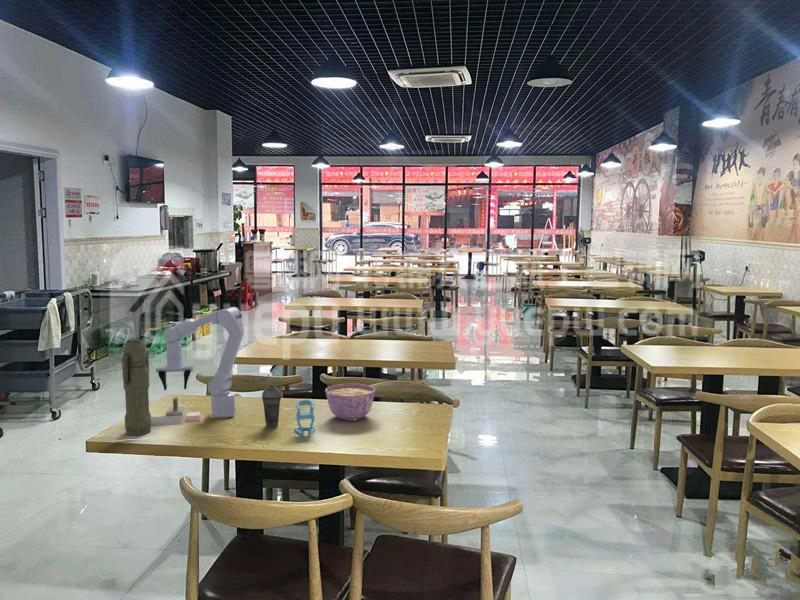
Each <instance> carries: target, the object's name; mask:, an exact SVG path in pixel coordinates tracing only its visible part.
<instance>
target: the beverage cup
mask: <svg viewBox="0 0 800 600" xmlns="http://www.w3.org/2000/svg"><path fill="white" fill-rule="evenodd" d="M267 381H268V385H267V387H266V388H265V389H264V390H263V391H262V395H261V399H262V403H263V410H264V411H263V412H264V420H265V422H264V423H265V427H266V428H269V429H273V428H276V427H278V426H279V418H280V405H281V404H280V403H281V399H282V398H281V397H282V395H281V390H280V389H279V388H278V387H277V386H275V385H271V382H270V374H267Z"/></svg>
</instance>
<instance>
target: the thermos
mask: <svg viewBox="0 0 800 600" xmlns="http://www.w3.org/2000/svg"><path fill="white" fill-rule="evenodd" d="M149 361H150V360H149V352H148V351H147V345H146V343H145V341H144V339H141V338H132V339H131V338H130V339H127V340H126V341H125V343H124V346H123V355H122V359H121V365H122V367H121V368H122V380H123V381H122V382H123V383H122V384H123V389H124V392H125V393H124V396H125V415H124V428H125V429H124V430H125V435H126V436H129V437H140V436H145V435H148V434H150V433H151V432H152V430H151V427H152V426H151V417H152V415H151V412H150V404H149V403H150V400H149V397H150V396H149V388H150V366H149V365H150V362H149Z"/></svg>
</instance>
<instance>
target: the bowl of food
mask: <svg viewBox="0 0 800 600" xmlns="http://www.w3.org/2000/svg"><path fill="white" fill-rule="evenodd" d="M324 391H325V394H326V395H325V396H326V399H327V403H328V407H329V410H330V412H331V413H332V415H334V416H335V417H337V418H339V419H341V420H342V419H344V420H343V421H347V420H353V421H355V420H354V419H358V418H360V419H361V418H363V417H365V416H367V415H368V414H369V413H370V411H371V409H372V405H373V402H374V398H375V394H376V393H375V392H376V388H375V387H374V386H371V385H368V384H363V383H362V384H361V383H340V384H333V385H331V386H328V387H326V388H325V390H324ZM358 420H359V419H358Z"/></svg>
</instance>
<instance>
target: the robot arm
mask: <svg viewBox="0 0 800 600" xmlns="http://www.w3.org/2000/svg"><path fill="white" fill-rule="evenodd" d="M243 318H244V316H243V314H242V312H241V310H240V309H239V308H238V307H235V306H230V307H228V308H224V309H223V308H222V309H220V310H219V309H218V310H216V311H213V312H210V313H208V314H206V315H204V316H202V317H199V318H198V319H195V320H194V319H193V318H192V319H191V318H186V319H183V321H182V322H180V323H176V324H174V325H173V326H171V327H167V328H166V329H165V330H164V331H163V339H164V340H165V343H166V344H165V345H166V365H165V366H157V367H155V369H154V370H155V374H156V373H157V375H158V378H159V379H160V382H161V383H162V386H163V390H164V391H167V389H168V388H167V387H168V385H167V373H172V372H173V373H175V372H183V389H184V390H187V386H188V381H189V378H190V375H191V372H194V369H195V368H194V365H183V357H182V356H183V355H182V354H183V353H182V352H183V350H182V339H183V338H185V337H188V336H191V335H193V334H195V333H197V332H198V330H199V328H200V327H203V326H206V325H209V324H211V323H216V324H218V323H219V325H221V326H222V328H224V329H225V330H226V331H227V333H228V337H227V340H226V344H225V348H224V350H223V352H222V355H221V359H220V362H219V365H218V367H217V371H216V372H215V373H214V374H213V376H212V379H211V380H210V381H209V383H208V384H207V390H208V392H209V393H210V403H211V405H210V407H211V408H210V409H211V411H210V415H209V418H224V417H225V418H234V417H235V416H236V415H235V414H236V410H237V409H236V402H235V401H236V396H235V393H234V392H230V389H231V387H232V385H233V382H232V378H233V374H232V370H233V366H234V363H235V361H236V358H237V355H238V353H239V349H240V346H241V343H242V340H243V337H244V333H245V330H244V323H243Z"/></svg>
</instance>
